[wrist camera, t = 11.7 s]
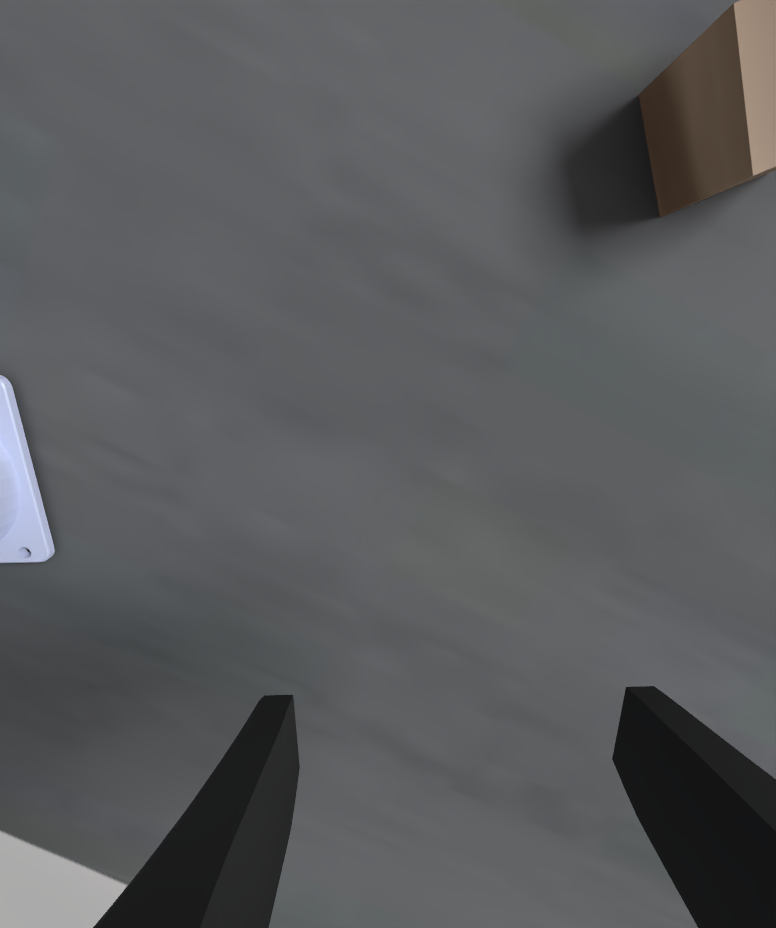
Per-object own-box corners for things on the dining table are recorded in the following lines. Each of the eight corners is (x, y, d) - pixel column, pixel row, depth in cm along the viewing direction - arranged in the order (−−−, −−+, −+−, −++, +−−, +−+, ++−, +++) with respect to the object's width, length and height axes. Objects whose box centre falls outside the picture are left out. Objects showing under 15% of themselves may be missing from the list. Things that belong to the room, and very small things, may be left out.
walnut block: (658, 218, 15) (752, 175, 11) (636, 96, 14) (733, 3, 10) (766, 173, 15) (902, 114, 11) (753, 45, 14) (898, -71, 10)
